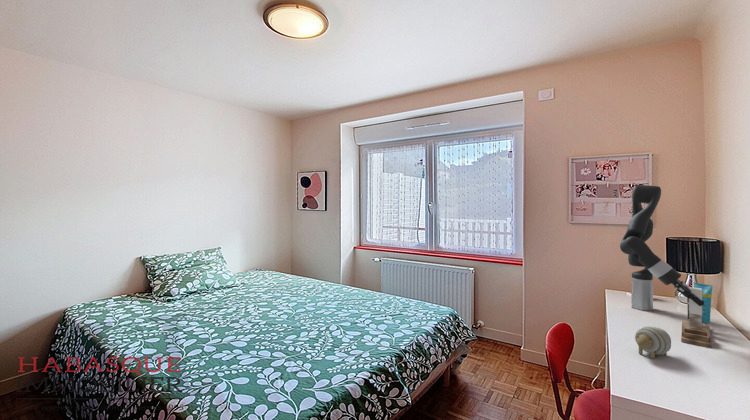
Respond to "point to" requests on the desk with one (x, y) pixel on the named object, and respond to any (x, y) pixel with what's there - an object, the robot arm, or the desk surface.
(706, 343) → the rail
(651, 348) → the toy sheep
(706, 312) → the tube
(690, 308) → the grey finger
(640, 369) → the desk surface
